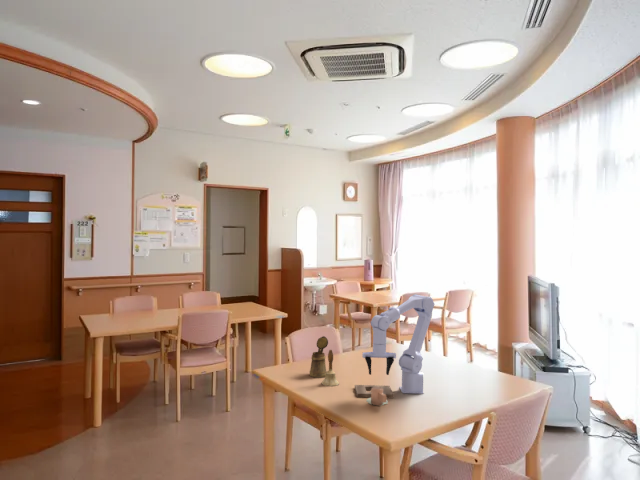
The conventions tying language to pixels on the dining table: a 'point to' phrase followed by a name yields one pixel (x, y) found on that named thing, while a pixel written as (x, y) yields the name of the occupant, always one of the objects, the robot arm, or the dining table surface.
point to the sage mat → (370, 401)
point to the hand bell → (330, 373)
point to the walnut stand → (362, 389)
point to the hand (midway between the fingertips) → (378, 374)
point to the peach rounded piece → (377, 396)
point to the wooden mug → (319, 359)
